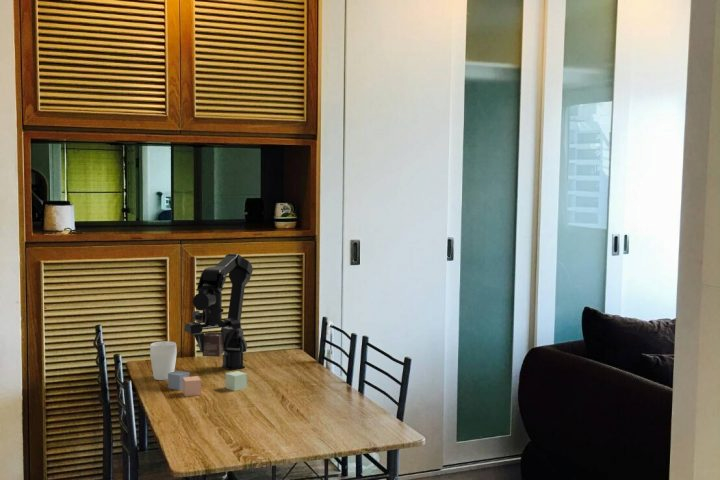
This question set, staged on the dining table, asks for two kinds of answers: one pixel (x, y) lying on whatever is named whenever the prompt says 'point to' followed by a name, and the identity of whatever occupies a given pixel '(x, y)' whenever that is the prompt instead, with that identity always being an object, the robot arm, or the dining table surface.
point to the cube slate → (177, 379)
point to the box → (213, 344)
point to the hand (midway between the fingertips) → (213, 350)
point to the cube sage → (236, 380)
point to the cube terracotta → (191, 386)
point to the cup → (163, 358)
